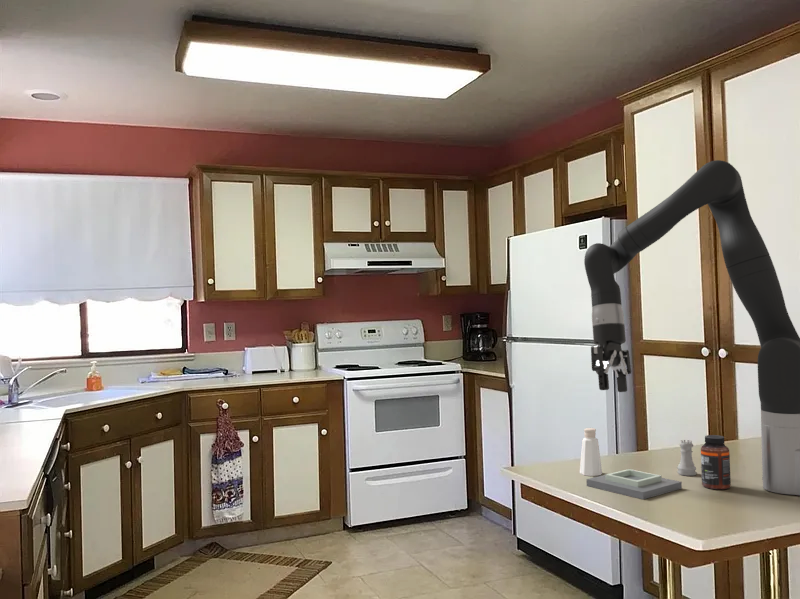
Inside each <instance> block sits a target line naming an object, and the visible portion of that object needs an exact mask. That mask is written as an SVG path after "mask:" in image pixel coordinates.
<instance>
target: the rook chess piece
mask: <svg viewBox="0 0 800 599" xmlns="http://www.w3.org/2000/svg"><path fill="white" fill-rule="evenodd" d="M692 442H693V441H692V440H690V439H689V440H688V439H682V440H680V443H679V444H678V445H679V447H680V450H679V451H680V462H679V463H678V465H677V467H676V468H677V471H676V473H677V474H678V475H679V476H684V477H693V476H694V477H695V476H696V475H697V474H698V473H697V467H696V466H695V463H694V461H693V454H692V453H693V449H692V448H693V447H694V444H693V443H692Z"/></svg>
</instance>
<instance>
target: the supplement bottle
mask: <svg viewBox="0 0 800 599" xmlns="http://www.w3.org/2000/svg"><path fill="white" fill-rule="evenodd" d="M704 442H705V443H704V444H703V445H701V447H700V465H701V466H700V468H701V485H702V487H704V488H707V489H711V490H719V491H721V490H723V491H724V490H727V489H730V488H731V487H732V485H731V482H732V481H731V458H730V457H731V454H730V449H729V447H728V446H727V445H725V437H724V436H723V435H716V434H708V435H705V436H704Z"/></svg>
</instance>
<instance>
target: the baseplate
mask: <svg viewBox="0 0 800 599" xmlns="http://www.w3.org/2000/svg"><path fill="white" fill-rule="evenodd" d="M682 483H683V482H682V481H679V480H675V479H670V478H666V477H662V475H661V474H656V473H650V472H645V471H642V470H641V471H640V470H635V469H633V468H627V469H623V470H619V471H616V472H615V471H614V472H609V473H605V474H603V475H602V474H601V475H600V476H592V477H589V478H586V487H589V488H594V489H598V490H603V491H606V492H607V491H608V492H611V493H616V494H619V495H623V496H629V497H630V498H631V497H632V498H636V499H640V500H646V499H649V498H653V497H656V496H659V495H663V494H666V493H670V492H674V491H679V490H682V488H683V485H682Z"/></svg>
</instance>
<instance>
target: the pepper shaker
mask: <svg viewBox="0 0 800 599" xmlns="http://www.w3.org/2000/svg"><path fill="white" fill-rule="evenodd" d="M583 431H584V432H583V433H584V438H582V442H581V451H580V452H581V453H580V464H579V474H580V475H583V476H586V477H598V476H602V474H603V469H602V460H601V453H600V445H599V439H598V438H596V435H597V434H596V431H597V430H596V428H594V427H585V428H584V429H583Z"/></svg>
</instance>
